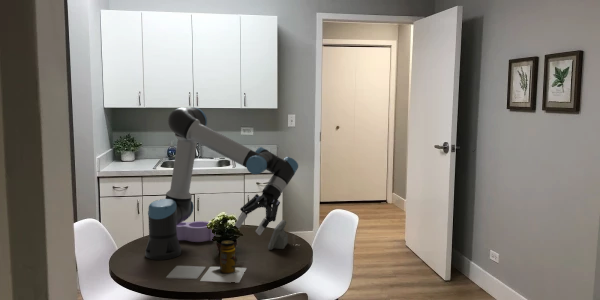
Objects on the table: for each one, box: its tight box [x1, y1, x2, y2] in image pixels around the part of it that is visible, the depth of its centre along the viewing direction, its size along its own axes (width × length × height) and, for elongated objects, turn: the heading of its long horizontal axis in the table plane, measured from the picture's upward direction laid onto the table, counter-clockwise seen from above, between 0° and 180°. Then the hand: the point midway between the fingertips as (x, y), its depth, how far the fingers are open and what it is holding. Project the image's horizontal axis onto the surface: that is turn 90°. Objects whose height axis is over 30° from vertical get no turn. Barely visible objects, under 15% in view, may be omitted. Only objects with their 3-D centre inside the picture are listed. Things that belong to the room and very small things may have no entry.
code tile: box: [199, 266, 248, 284], centre depth 184 cm, size 15×15×1 cm
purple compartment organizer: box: [177, 220, 216, 243], centre depth 231 cm, size 20×12×7 cm, turn 89°
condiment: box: [212, 239, 239, 276], centre depth 186 cm, size 7×8×12 cm
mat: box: [165, 265, 207, 280], centre depth 185 cm, size 12×12×1 cm
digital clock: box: [267, 219, 289, 251], centre depth 220 cm, size 16×9×11 cm, turn 158°
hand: (246, 230), depth 193 cm, fingers open, 13 cm apart
